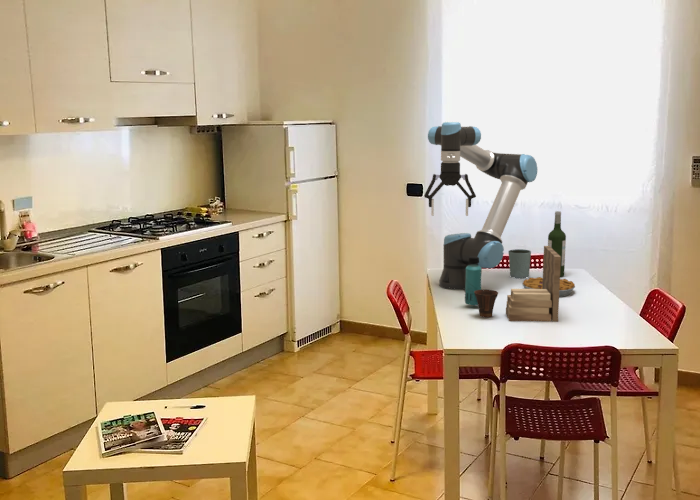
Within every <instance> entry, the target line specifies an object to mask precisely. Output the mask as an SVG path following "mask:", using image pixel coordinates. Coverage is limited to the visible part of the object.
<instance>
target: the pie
mask: <svg viewBox="0 0 700 500" xmlns="http://www.w3.org/2000/svg"><path fill="white" fill-rule="evenodd" d="M542 284H543V277H541V276H537V277H535V278H534V277H528V278H524V280H523V282H522V283H521V285H522V287H524V288H523V289H542ZM575 288H576V286H575V283H574V282H573V281H572V280H570V281H569V280H568V279H566V278H564V279H562V278H560V288H559V298H563V297H567V296H570V295H571V294H572V292H573V291H574V289H575Z"/></svg>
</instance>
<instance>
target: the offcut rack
mask: <svg viewBox="0 0 700 500" xmlns="http://www.w3.org/2000/svg"><path fill="white" fill-rule="evenodd" d="M542 261H543V263H542V278H543V284H542V289H525V288H510V294H507V295H506V296H507V297H506V306H505V315H506V317H507V319H508V322H559V307H560V306H559V305H560V297H559V288H560V279H561V277H560V266H561V256H559V255H558V254H557V253H556V252H555V251H554V250H553V249H552V248H551V247H550V246H548V245H543V260H542Z"/></svg>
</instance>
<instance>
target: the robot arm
mask: <svg viewBox="0 0 700 500" xmlns="http://www.w3.org/2000/svg"><path fill="white" fill-rule="evenodd" d="M427 140H428V142H429V143H430V144H431V145H435V146H440V148H441V149H440V161H441V163H440V174H435V173H433V174H432V179H431V180H430V183H429V185H428V187H427V188H426V191H425V192H424V195H423V196H424V199H425V198H426V199H428V207H429V208H431V209H430V210H431V213H430V214H431V216H432V217H433V216H434V215H435V212H434V211H435V209H434V208H435V207H434V206H435V205H434V203H435V199H434V197H435V196H436V194H437V193H438V192H439V191H440V190H441V188H443V187H444V186H446V187H447V186H452V187H454V186H457V187H458V188H459V189H460V190H461V191H462V192H463V194H464V195H465V197H467V198H465V216H466V217H468V216H469V208H471V207H472V200H473V199H474V198H475V199H476V197H477V195H476V193H475V192H474V189H473V186H472V184H471V182H470V181H469V175H468V174H467V173H464V174H461V162H460V161H461V158H462V159H464V160H466V161H467V162H469V163H471V164H472V165H474V166H475V167H476V169H477V170H478V171H480V172H482V173H484V174H485V175H488V176H489V177H492V178H494V179H497V180H500V183H501V184H500V186H499V188H498V191H497V194H496V195H495V197H494V201H493V202H492V205H491V207H490V209H489V212H488V215H487V217H486V219H485V221H484V224H483V226H482V228H481V230H477V231H476V233H475V236H474V237H472V234H471V233H468V232H466V233H465V232H464V233H463V232H462V233H453V234H452V233H451V234H447V235H445V237H444V238H443V269H442V271H441V274H440V278H439V281H438V282H439V283H438V285H439V287H441V288H442V289H446V290H447V289H448V290H465V281H466V279H465V278H466V275H465V274H466V267H467V266H468V265H479V266H480V267H481V268H482V269H494V268H496V267H498V265H499V264H500V263H501V261H502V259H503V257H504V253H505V252H504V251H505V248H504V246H503V245H504V244H503V239H502V238H501V237H502V236H503V232H504V230H505V228H506V226H507V224H508V221H509V218H510V217H511V213H512V211H513V209H514V207H515V205H516V202H517V200H518V197H519V195H520V193H521V191H522V190H525V189H526V187H527V185H528V183H533V182H535V180H536V178H537V175H538V164H537V161H536V159H535V157H534V156H532V155H530V154H525V153H522V154H519V153H517V154H516V153H502V152H494V151H491V150H490V149H484V148H481V147H480V146H478V144H479V143H480V142H481V140H482V132H481V130H480V128H478V127H476V126H472V125H469V126H462V125H461V122H459V121H454V122H453V121H452V122H451V121H449V122H448V121H447V122H446V121H445V122H442V124H441V126H440V125H438V126H432V127H430V128H429V130H428V133H427ZM438 179H440V181H441V182H440V183H439V184H438V185H437V186H436V188H435V189H434V190H433V191H432V192H431V190H432V189H433V186H434V184H435V183H436V181H438ZM461 179H462V180H463V181H465V183H466V186H467V188H468V190H469V192H470V194H469V192H468V191H467V190H466V189H465V188H464V186H463V185H462V184H461V183H460V180H461ZM430 192H431V193H430ZM429 194H430V195H429ZM469 257H479V263H469V262H468V261H469Z"/></svg>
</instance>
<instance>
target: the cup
mask: <svg viewBox="0 0 700 500" xmlns="http://www.w3.org/2000/svg"><path fill="white" fill-rule="evenodd" d="M474 294H475V296H476V299H477V303H478V305H477V306H478V315H479V317H480V318H492V317H493V311H494V308H495V303H496V299H497V298H498V295H499V292H498V290H494V289H486V288H485V289H482V290H476V291H474Z"/></svg>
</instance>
